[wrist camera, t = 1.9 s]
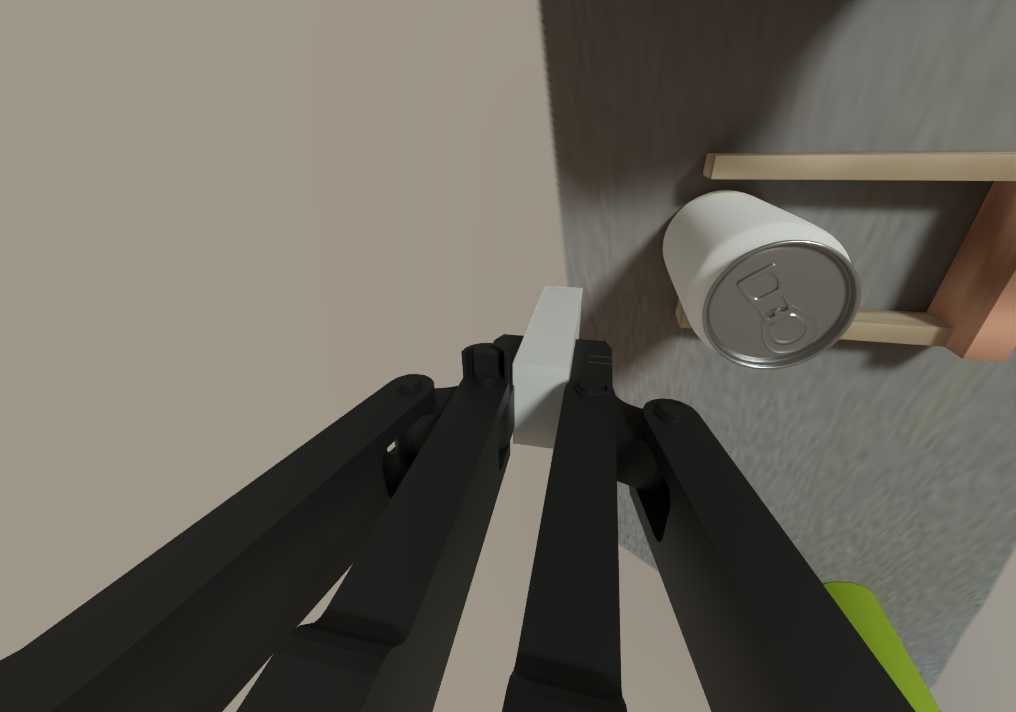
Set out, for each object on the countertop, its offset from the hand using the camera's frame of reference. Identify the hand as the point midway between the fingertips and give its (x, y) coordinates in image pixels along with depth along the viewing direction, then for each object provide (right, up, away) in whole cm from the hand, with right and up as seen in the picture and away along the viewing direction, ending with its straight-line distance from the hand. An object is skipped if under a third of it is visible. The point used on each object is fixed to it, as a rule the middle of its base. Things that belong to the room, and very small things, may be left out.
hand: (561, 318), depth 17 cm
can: (+11, +6, +10) cm, 16 cm away
